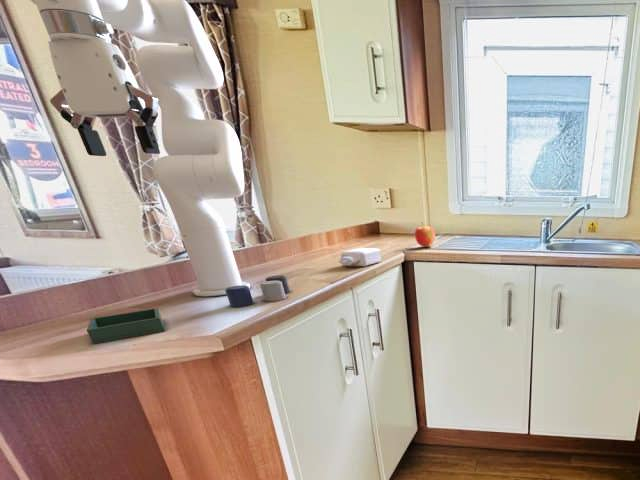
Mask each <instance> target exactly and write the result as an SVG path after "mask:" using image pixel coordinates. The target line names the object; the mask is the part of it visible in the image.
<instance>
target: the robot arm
mask: <svg viewBox="0 0 640 480" xmlns="http://www.w3.org/2000/svg"><path fill="white" fill-rule="evenodd" d="M29 1H30V2H32V4H34V5H36V8H37V10H38V12H39V14H40V17H41V20H42V23H43V24H44V27H45V29H46V32H47V34H48V37H49V41H48V47H49V53H50V56H51V60H52V64H53V68H54V70H55V74H56V77H57V81H58V84H59V86H60V90H59V91H58V92H57V93H55V94H54V95H53V96H52V97H51V98H50V100H49V102H50V104H51V105H52V106H53V107H54V109H55V110H56V111H57V112H58V113H59V114H60V116H61V118H62V119H63V120H65V121H67V122H68V123H69V124H70V126H71V127H72V128H73V129H75V130H77V132H78V135H79V137H80V139H81V141H82V144H83V146H84V149H85V151H86V153H87V155H88V156H94V157H106V156H107V152H106V149H105V146H104V144H103V142H102V139H101V137H100V134H99V132H98V131H97V130H96V129H93V128H94V125H95V121H96V118H99V119H116V118H117V119H119V118H120V119H121V118H129V119H130V120H132V122H134V123H135V124H136V125H134V130H135V133H136V136H137V139H138V141H139V144H140V147H141V150H142V152H143V153H145V154H152V155H160V154H161V151H160V148H159V143H158V140H157V137H156V133H155V132H154V128H155V127H156V120H157V118H158V116H159V113H158V109H159V108H160V114H161V115H160V116H161V119H160V120H161V140H162V146H163V149H164V151H165V152H166V154H167V155H164V156H160V157H159V158H157V159H156V160H155V161H154V163H153V165H152V172H153V175H154V178H155V180H156V182H157V184H158V187H159V188H160V189H161V191H162V194H163V195H164V197H165V199H166V201H167V204H168V205H169V208H170V210H171V212H172V214H173V215H172V216H173V217H174V220H175V222H176V225H177V228H178V231H179V233H180V236H181V237H180V238H181V239H182V242H183V245H184V248H185V251H186V253H187V256H188V259H189V262H190V265H191V268H192V270H193V274H194V276H195V279H196V282H197V284H198V287H197V288H195V289H193V290H192V291H193V295H194V296H196V297H217V296H218V297H219V296H225V295H226V296H227V294H226V291H225V290H226V289H227V288H229V287H233V286H240V285H245V286H248V287H249V289H251V285H250V283H249V282H247V281H242V278H241V274H240V272H239V268H238V265H237V261H236V259H235V255H234V252H233V249H232V246H231V242H230V240H229V236H228V233H227V229H226V225H225V222H224V220H223V218H222V217H221V215H220V214H219V213H218V212H217V211H216V210H215V209H214V208H213V207H211V206H210V205H209V204H208V203H207V202H206V201H209V200H221V199H223V200H225V199H235V198H240V197H241V196H243V194H244V192H245V175H244V164H243V163H244V162H243V153H242V152H243V151H242V148H241V143H240V139H239V137H238V135H237V133H236V131H235V129H234V128H233V127H232V125H231V124H230V123H228V122H226V121H224V120H222V119H216V118H213V119H212V118H211V119H210V118H209V119H208V118H205V115H204V113H203V111H202V109H201V108H200V107H199V106H198V105H197V104H196V102H194V101H193V100H192V99H191V98H190V97H188V96H187V95H186V94H184V93H183V92H181V91H180V89H185V90H187V89H188V90H217V89H219V88H221V87H222V86H223V84H224V80H225V77H224V72H223V69H222V66H221V63H220V61H219V59H218V57H217V55H216V52H215V50H214V48H213V46H212V44H211V42H210V40H209V37H208V36H207V33H206V31H205V29H204V27H203V25H202V23H201V21H200V19H199V17H198V16H197V14H196V12H195V11H194V9H193V7H192V6H191V5H190V4H189V2H188V1H186V0H29ZM114 30H119V31H122V32H124V33H126V34H128V35H130V36H131V37H132V36H133V37H135V38H137V39H139V40H141V41H144V42H148V43H156V44H149V45H144V46H141V47H140V48H138V50H137V51H136V53H135V60H136V64H137V68H138V70H139V72H140V75H141V77H142V78H143V81H144V82H145V85H146V86H147V88H148V90H149V92H148V91H145V90H143V89H141V88H140V87H139V85H138V82H137V80H136V78H135V76H134V73H133V71H132V69H131V67H130V66H129V64H128V62H127V59H126V57H125V56H124V54H123V52H122V51H121V48H119V46H118V44H115V43H112V39H111V37H110V34H114ZM157 43H159V44H157ZM161 43H163V44H161ZM170 44H171V45H170ZM172 44H173V45H172ZM174 44H181V45H174ZM182 44H183V45H182ZM185 44H187V45H185ZM178 89H179V90H178Z"/></svg>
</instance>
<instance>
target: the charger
mask: <svg viewBox="0 0 640 480" xmlns="http://www.w3.org/2000/svg"><path fill="white" fill-rule="evenodd" d="M337 261H338V262H337V263H339V264H341V265H342V266H344V267H355V268H356V267H357V268H358V267H360V268H361V267H362V268H364V267H367V266H371V265H374V264H377V263H381V262H382V254H381V249H379V248H378V247H357V248H354V249H350V250H345V251H342V252H341V253H340V258H339V259H338V260H337Z"/></svg>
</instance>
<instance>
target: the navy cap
mask: <svg viewBox="0 0 640 480" xmlns="http://www.w3.org/2000/svg"><path fill="white" fill-rule="evenodd" d="M250 289H251V288H249V287H248V286H245V285H240V286H233V287H229V288H227V289H226V290H225V291H226V296H227V300H228V302H229V306H230V307H231V308H243V307H248V306H252V305H253V304H254V300H253V295H252V293H251V290H250Z"/></svg>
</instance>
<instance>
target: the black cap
mask: <svg viewBox="0 0 640 480" xmlns="http://www.w3.org/2000/svg"><path fill="white" fill-rule="evenodd" d="M267 281H281V282H282V285H283V288H284V292H285V295H287V294H289V293H290V292H291V291H290V286H289V283H288V279H287V276H285V275H283V274H282V275H281V274H280V275H271V276H267V277H266V278H265V282H267Z"/></svg>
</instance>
